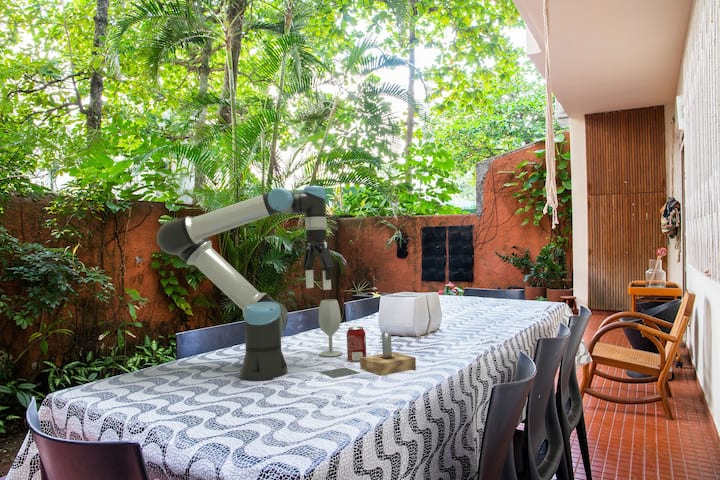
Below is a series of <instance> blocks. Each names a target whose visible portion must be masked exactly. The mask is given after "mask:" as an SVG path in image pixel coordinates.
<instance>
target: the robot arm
mask: <svg viewBox="0 0 720 480" xmlns="http://www.w3.org/2000/svg"><path fill="white" fill-rule="evenodd" d="M326 204H327V199H326V190H325V188H324V186H321V185H308V186H305V187H304V189H303V192H290V190H288V189H287V188H284V187H275V188H273V189H271V191H269V192H266V193H264V194H259V195H257V196H254V197H251V198H248V199H246V200H245V199H244V200H243V201H239V202H237V203H233V204H231V205H227V206H224V207H221V208H219V209H215V210H212V211H209V212H207V213H204V214H199V215H198V216H194V217H190V216H185V217H182V218H178V219H174V220H171V221H170V220H169V221H167V222H165V223H164V224H163V225H161V227H160V228H159V229H158V231H157V234H156V242H157V245H158V247H159V248H160V249H161V251H163V252H164V253H166V254H169V255H174V256H178V257H179V258H180V259H181V260H182V261H183V262H184V263H185V264H186V265H188V266H194V267H196V268H197V269H198V270H199V271H200V272H201V273H202V274H203V275H205V277H207V279H209V280H210V281H211V282H212V283H213V285H215V287H217V288H218V289H220V291H222V293H224V294H225V296H227V297H228V298H229V299H230V300H231V301H232V302H233V303H234V304H235V305H236V306H238V308H239V309H241V310H242V317H243V320H244V340H245V341H244V342H245V355H244V356H243V357H244V358H243V361H242V365H241V368H240V378H241V379H243V380H247V381H269V380H274V379H276V378H277V379H278V378H280V377H283V376H286V375H287V374H288V364H287V362H286V359H285V357H284V354H283V350H282V332H283V331H284V330H285V329H286V328H287V325H288V322H289V313H288V310H287V309H286V307H285V306H284V304H282V303H281V302H279V301H276V300H274V298H272V297H271V295H269V294H268V293H267V292H260V291H259V290H257V288H255V287H254V286H253V284H251V283H250V282H249V280H247V279H246V278H245V277H244V276H243V275H241V274H240V272H238V270H236V269H235V268H234V267H233V266H232V265H231V264H230V263H229V262H227V260H226V259H224V257H223V256H221V255H220V254H219V253H218V252H217V251H216V250H215V249H214V248H213V247H212V245H213V243H212V240H210V239H209V238H208V237H212V236H214V235H218V234H220V233H224V232H227V231H229V230H233V229H236V228H237V227H241V226H243V225H248V224H250V223H252V222H255V221H258V220H261V219H264V218H267V217H270V216H274V215H281V216H283V215H292V214H293V215H294V214H295V215H296V214H304V223H305V224H304V225H305V229H306V230H305V240H306V241H307V242H309V243H307V242H306V243H305V244H304V245H305V248H304V249H305V250H304V254H303V260H302V266H301V267H302V269H304V271H305V288H306V289H314V267H313V266H314V264H315V262H316V258H317V257H318V259H319V262H320V264H321V266H322V269H321V270H322V288H323V289H322V290H323V291H325V290H328V291H329V290H332V275H331V273H332V272H331V271H332V270H334V269H335V264H334V260H333V257H332V254H331V250H330V243H329V242H326V240H327V239H328V233H327V229H326V228H327V222H328V221H327V205H326Z"/></svg>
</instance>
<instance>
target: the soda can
mask: <svg viewBox="0 0 720 480" xmlns="http://www.w3.org/2000/svg"><path fill="white" fill-rule="evenodd" d="M366 339H367V338H366V331H365V329H364V327H363V326H350V327H348V330H347V332H346V346H347V347H346V349H347V351H346V352H347V361H348V362H350V363H351V362H353V363H360V358H362V357H367V341H366Z"/></svg>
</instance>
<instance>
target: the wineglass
mask: <svg viewBox="0 0 720 480" xmlns="http://www.w3.org/2000/svg"><path fill="white" fill-rule="evenodd" d="M318 307H319V308H318V325H319V329H320V330H321V331H322V332H323V333H324V334H325V335H327V336H328V350H325V351H321V352H319V353H318V355H319V356H321V357H324V358H325V357H329V358H333V357H340V356H341V355H343V351H341V350H334V348H333V345H334V344H333V336H334V334H335V333H337V331H338V330H339V329H340V327H341V322H342V316H341V315H342V314H341V310H340V305H339V302H338V300H337V299H323V300H320V304H319V306H318Z"/></svg>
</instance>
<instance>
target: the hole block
mask: <svg viewBox="0 0 720 480" xmlns="http://www.w3.org/2000/svg"><path fill="white" fill-rule="evenodd" d="M416 360H417V359H416V357H415V356H410V355H407V354H403V353H400V352H396V351H392V359H387V360H385V359H383V353H380V354H375V355H374V354H373V355H369V356H366V357H362V358H360V362H359V364H360V365H359V366H360V370H362V371H365V372H368V373H371V374H375V375H378V376H386V375H391V374H395V373H401V372H407V371H416V370H417V365H416V364H417V362H416Z"/></svg>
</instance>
